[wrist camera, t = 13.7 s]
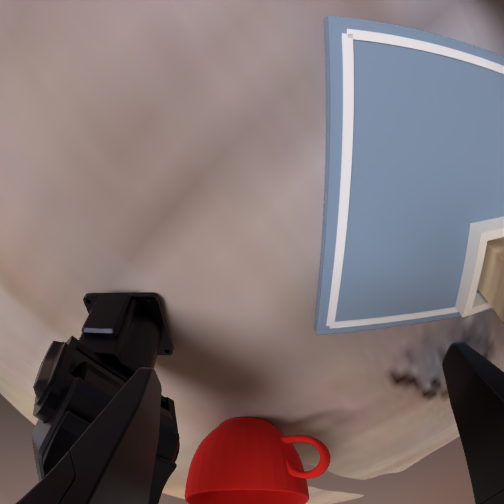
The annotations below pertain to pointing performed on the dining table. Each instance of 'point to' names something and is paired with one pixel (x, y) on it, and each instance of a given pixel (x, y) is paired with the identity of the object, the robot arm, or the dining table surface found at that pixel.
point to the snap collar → (476, 265)
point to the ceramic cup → (251, 465)
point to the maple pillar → (493, 276)
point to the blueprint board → (404, 171)
